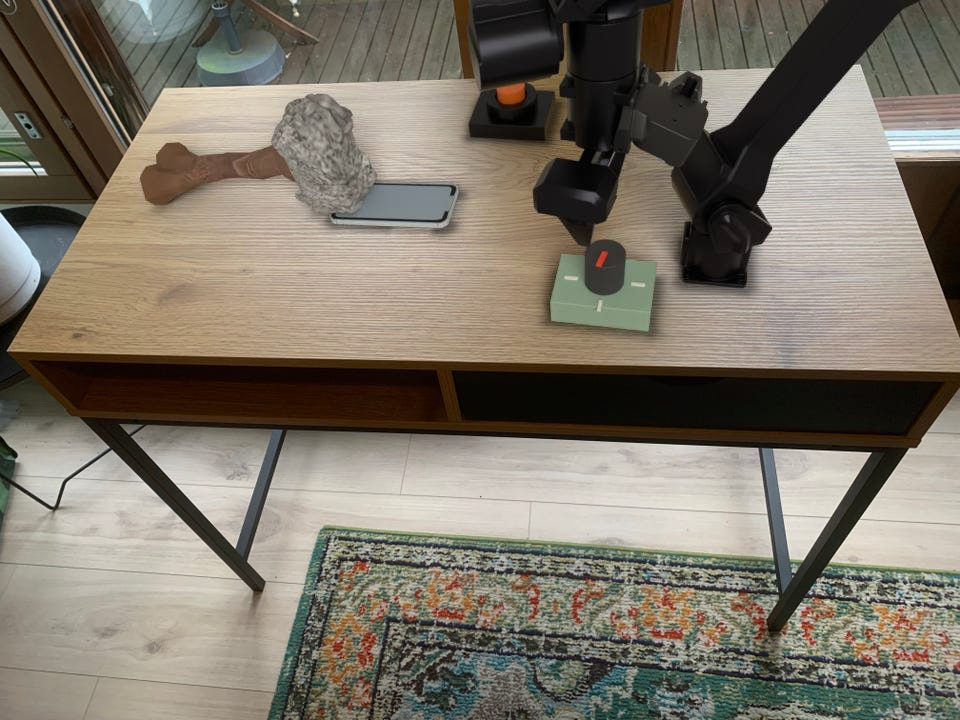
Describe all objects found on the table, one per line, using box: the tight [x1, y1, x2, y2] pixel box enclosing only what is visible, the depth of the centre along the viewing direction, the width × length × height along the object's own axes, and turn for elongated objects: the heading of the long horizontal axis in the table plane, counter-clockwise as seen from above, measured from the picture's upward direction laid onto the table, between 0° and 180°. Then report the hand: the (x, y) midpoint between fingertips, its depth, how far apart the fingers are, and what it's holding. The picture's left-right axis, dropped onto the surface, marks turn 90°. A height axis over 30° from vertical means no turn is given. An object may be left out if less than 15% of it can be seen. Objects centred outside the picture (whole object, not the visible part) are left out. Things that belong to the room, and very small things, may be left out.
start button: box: [497, 83, 525, 104], centre depth 96 cm, size 4×4×2 cm
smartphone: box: [329, 181, 459, 229], centre depth 91 cm, size 7×1×15 cm
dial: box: [584, 238, 627, 295], centre depth 74 cm, size 4×4×4 cm
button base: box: [468, 82, 556, 142], centre depth 98 cm, size 10×8×4 cm
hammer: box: [139, 93, 378, 215], centre depth 90 cm, size 15×10×30 cm
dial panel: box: [549, 253, 658, 332], centre depth 77 cm, size 10×8×3 cm
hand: (598, 212), depth 71 cm, fingers open, 9 cm apart
